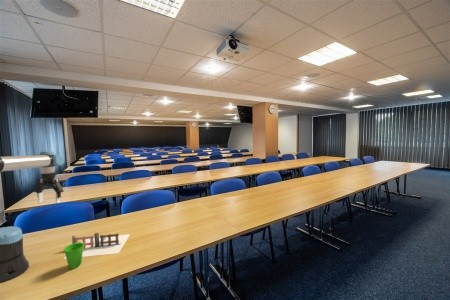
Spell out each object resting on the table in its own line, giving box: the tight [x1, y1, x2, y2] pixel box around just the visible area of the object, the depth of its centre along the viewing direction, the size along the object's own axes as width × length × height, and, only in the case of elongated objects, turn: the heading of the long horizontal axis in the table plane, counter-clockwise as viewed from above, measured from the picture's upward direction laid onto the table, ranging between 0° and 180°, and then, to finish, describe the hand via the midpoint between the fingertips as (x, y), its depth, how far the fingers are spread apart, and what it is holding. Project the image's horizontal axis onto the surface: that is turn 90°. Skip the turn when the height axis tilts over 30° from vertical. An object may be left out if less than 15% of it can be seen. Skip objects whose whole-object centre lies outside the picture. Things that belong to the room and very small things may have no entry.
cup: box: [63, 241, 84, 270], centre depth 106 cm, size 9×9×11 cm
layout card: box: [62, 233, 131, 260], centre depth 127 cm, size 25×30×1 cm
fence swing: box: [71, 235, 95, 248], centre depth 124 cm, size 2×12×8 cm, turn 101°
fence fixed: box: [93, 232, 120, 247], centre depth 127 cm, size 2×14×8 cm, turn 100°
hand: (49, 202), depth 139 cm, fingers open, 13 cm apart
